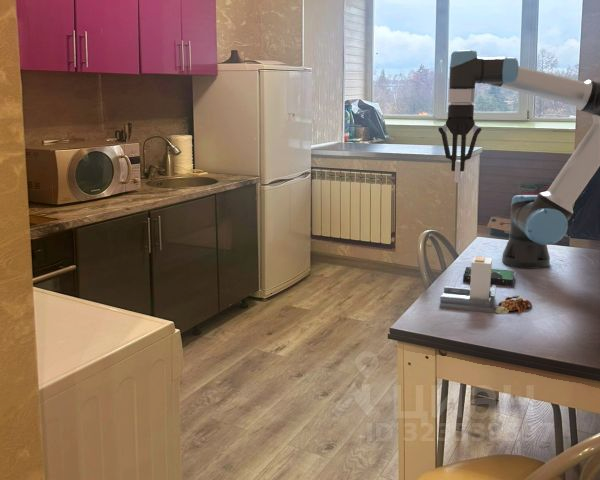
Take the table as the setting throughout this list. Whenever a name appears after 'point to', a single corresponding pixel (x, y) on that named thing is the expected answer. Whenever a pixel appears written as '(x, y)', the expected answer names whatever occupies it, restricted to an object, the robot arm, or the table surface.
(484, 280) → the block
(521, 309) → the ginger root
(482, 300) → the rail base
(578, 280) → the table surface
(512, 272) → the disk drive
